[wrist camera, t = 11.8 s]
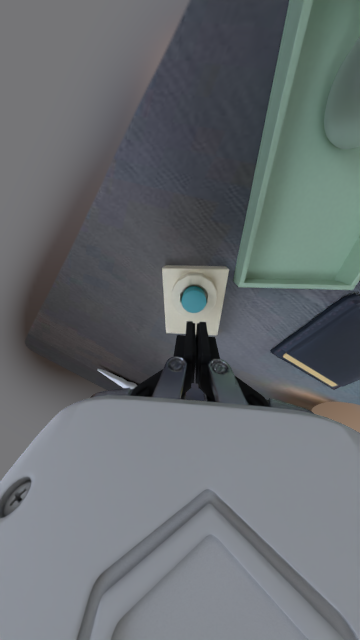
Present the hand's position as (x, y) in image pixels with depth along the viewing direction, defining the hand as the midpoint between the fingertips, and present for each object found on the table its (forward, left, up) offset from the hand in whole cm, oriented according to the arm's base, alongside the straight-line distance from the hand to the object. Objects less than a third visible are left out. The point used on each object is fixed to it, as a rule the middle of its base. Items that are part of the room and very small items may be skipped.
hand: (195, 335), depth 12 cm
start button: (0, 0, -8) cm, 8 cm away
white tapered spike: (+25, -17, -12) cm, 33 cm away
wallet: (+11, +28, -12) cm, 32 cm away
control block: (+2, 0, -12) cm, 12 cm away
